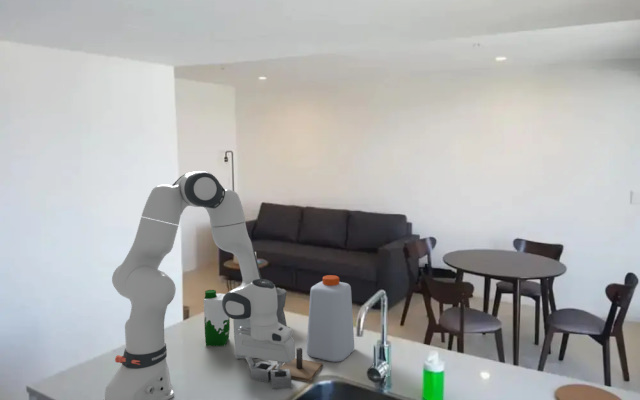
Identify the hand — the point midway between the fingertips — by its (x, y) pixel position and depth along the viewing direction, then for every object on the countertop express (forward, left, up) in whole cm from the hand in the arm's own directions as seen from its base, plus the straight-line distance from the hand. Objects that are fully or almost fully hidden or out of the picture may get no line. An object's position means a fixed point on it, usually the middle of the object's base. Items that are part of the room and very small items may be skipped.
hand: (265, 370), depth 158 cm
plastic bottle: (+24, -14, -2) cm, 28 cm away
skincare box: (+12, +13, -2) cm, 18 cm away
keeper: (+7, -9, -2) cm, 12 cm away
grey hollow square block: (0, 0, -2) cm, 2 cm away
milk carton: (+17, +29, -2) cm, 34 cm away
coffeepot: (+38, +15, -2) cm, 41 cm away
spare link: (-3, -7, -2) cm, 8 cm away
